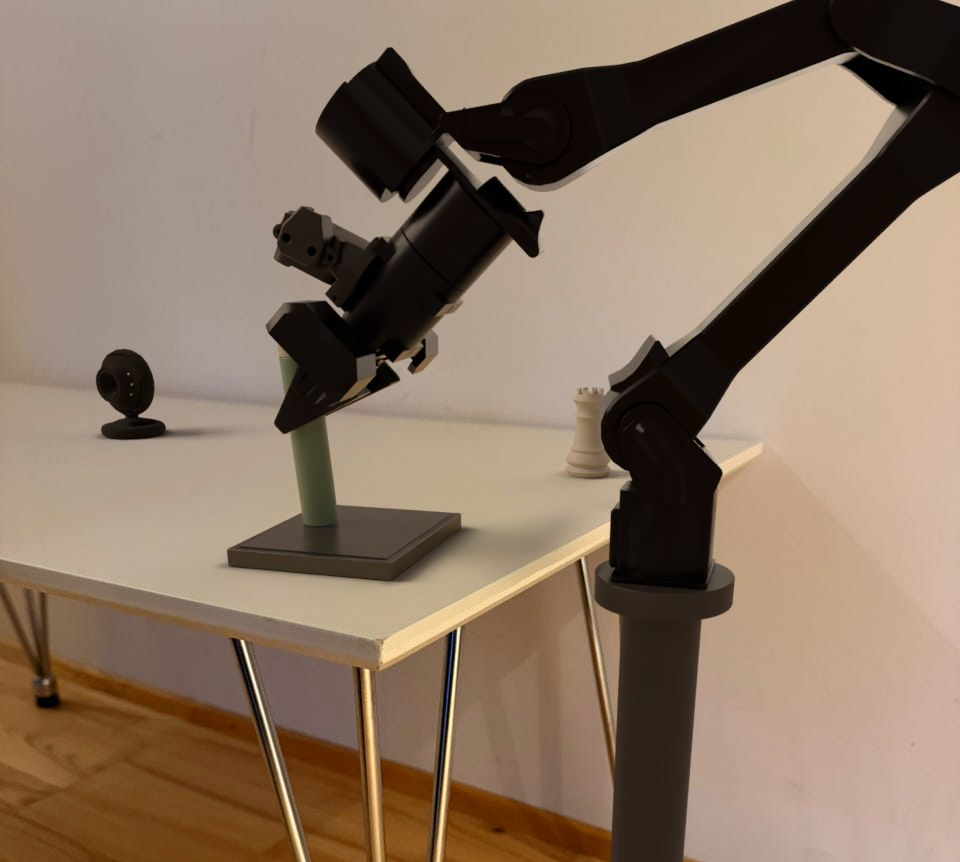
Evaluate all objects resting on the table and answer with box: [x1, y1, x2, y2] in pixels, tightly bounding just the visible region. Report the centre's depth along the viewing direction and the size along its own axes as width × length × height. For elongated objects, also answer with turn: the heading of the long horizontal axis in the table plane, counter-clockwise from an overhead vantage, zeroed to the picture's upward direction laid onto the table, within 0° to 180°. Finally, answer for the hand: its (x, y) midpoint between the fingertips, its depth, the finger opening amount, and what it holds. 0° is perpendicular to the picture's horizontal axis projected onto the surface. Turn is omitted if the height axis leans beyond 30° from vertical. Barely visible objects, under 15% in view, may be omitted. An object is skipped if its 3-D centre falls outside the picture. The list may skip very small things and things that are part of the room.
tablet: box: [226, 504, 462, 581], centre depth 71 cm, size 12×14×1 cm
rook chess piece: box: [564, 386, 612, 479], centre depth 93 cm, size 4×4×8 cm
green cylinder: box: [276, 342, 338, 527], centre depth 70 cm, size 3×3×13 cm
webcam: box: [95, 348, 167, 440], centre depth 118 cm, size 8×8×10 cm
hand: (288, 425), depth 70 cm, fingers closed on green cylinder, 3 cm apart
